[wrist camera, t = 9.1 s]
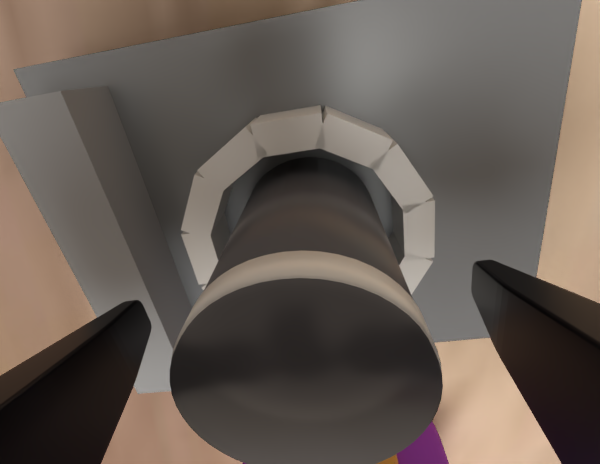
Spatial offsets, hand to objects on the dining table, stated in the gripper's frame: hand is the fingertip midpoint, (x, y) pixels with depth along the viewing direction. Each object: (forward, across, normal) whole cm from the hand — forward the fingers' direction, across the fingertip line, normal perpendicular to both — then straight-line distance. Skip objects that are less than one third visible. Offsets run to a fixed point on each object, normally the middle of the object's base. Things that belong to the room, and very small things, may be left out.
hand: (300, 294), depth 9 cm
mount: (+8, 0, 0) cm, 8 cm away
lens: (+5, 0, 0) cm, 5 cm away
